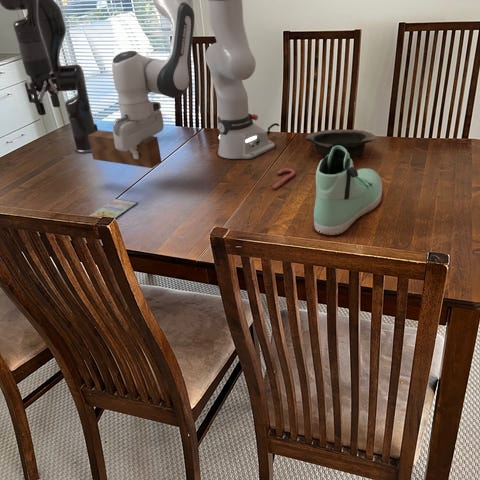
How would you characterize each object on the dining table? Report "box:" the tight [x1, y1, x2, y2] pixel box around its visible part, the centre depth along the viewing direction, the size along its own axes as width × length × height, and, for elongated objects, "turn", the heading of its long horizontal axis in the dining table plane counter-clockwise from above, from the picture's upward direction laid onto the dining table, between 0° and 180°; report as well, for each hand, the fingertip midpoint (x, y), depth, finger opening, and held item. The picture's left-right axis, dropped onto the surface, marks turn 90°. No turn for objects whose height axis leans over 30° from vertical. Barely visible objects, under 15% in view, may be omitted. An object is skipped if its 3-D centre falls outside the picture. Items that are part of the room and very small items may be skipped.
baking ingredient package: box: [88, 198, 137, 219], centre depth 147 cm, size 9×1×15 cm
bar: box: [88, 129, 162, 169], centre depth 152 cm, size 24×5×8 cm, turn 63°
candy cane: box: [272, 167, 296, 190], centre depth 158 cm, size 6×15×2 cm, turn 145°
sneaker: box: [313, 146, 383, 236], centre depth 133 cm, size 14×35×20 cm, turn 152°
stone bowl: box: [304, 128, 378, 159], centre depth 171 cm, size 25×25×9 cm
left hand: (49, 110), depth 152 cm, fingers open, 8 cm apart
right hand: (143, 154), depth 150 cm, fingers closed on bar, 5 cm apart
